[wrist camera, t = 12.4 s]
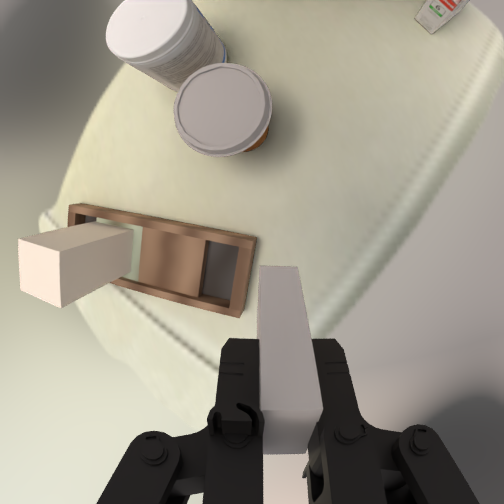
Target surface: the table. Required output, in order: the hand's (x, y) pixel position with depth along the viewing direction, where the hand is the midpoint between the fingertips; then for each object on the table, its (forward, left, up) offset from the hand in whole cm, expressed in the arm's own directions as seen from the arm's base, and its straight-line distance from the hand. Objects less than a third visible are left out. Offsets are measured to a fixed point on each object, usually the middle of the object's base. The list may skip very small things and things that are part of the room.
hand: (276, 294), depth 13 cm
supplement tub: (-1, -26, -27) cm, 37 cm away
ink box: (-35, -14, -27) cm, 47 cm away
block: (+23, -12, -25) cm, 36 cm away
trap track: (+19, -8, -27) cm, 34 cm away
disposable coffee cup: (-1, -14, -27) cm, 30 cm away
